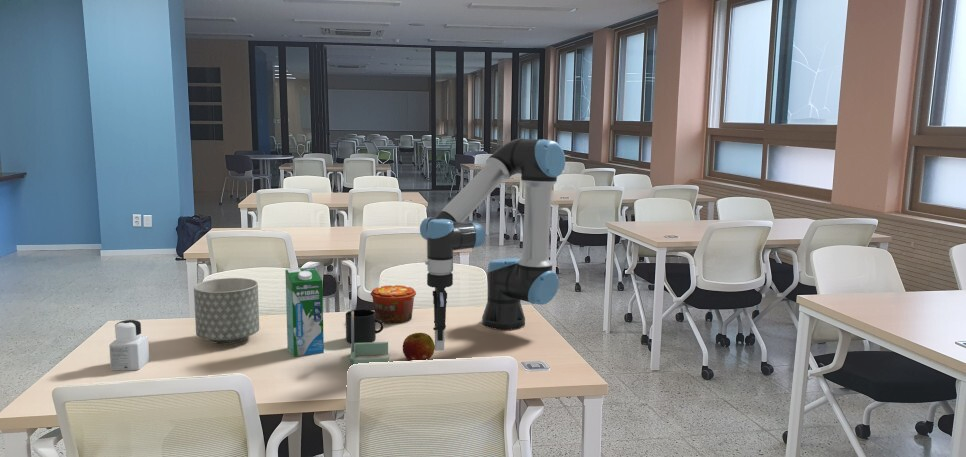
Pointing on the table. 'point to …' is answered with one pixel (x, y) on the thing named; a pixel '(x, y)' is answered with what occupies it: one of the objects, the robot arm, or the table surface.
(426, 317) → the table surface
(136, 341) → the container
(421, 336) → the fruit
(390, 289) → the food container
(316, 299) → the milk carton
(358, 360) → the long-handled green u-channel
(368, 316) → the mug
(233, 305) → the planter
